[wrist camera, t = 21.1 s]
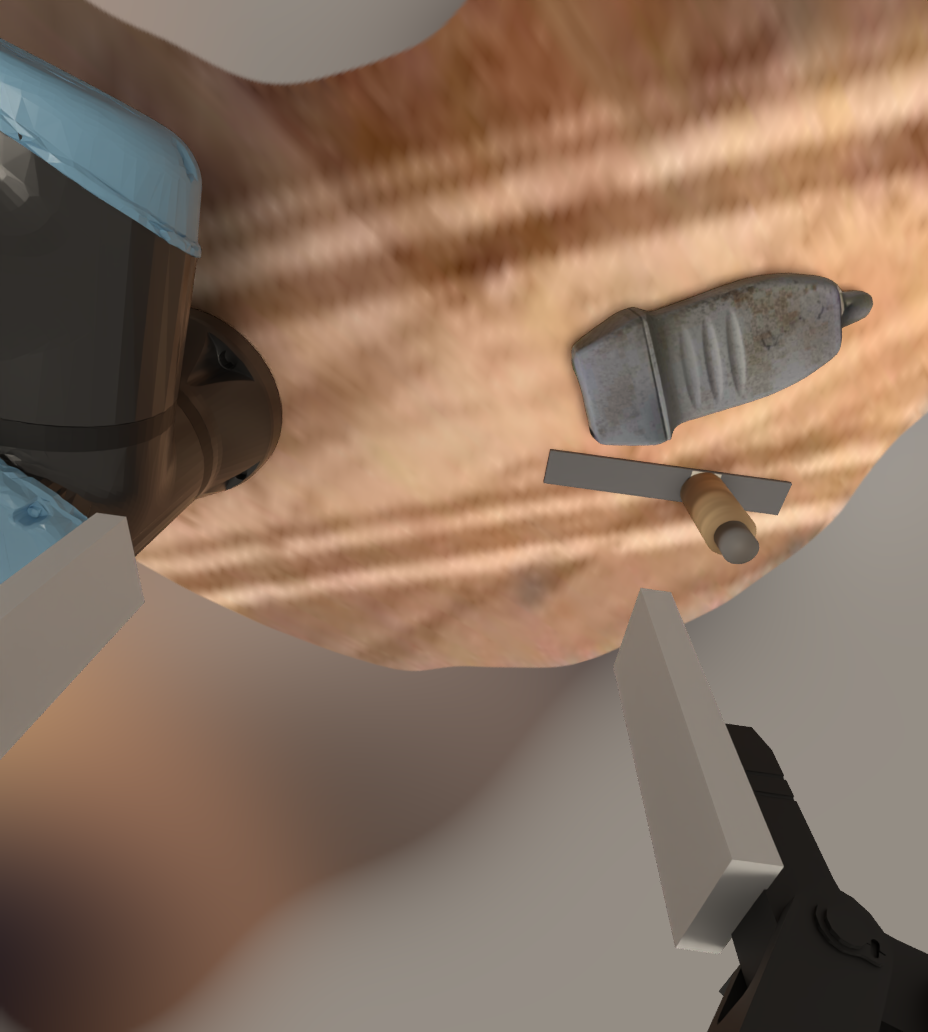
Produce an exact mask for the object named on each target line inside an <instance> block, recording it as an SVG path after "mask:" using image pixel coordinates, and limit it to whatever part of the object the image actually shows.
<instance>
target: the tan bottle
mask: <svg viewBox="0 0 928 1032" xmlns="http://www.w3.org/2000/svg"><path fill="white" fill-rule="evenodd" d="M680 497H681V500H682V502H683V504H684V505H685V507H686V509H687V511H688V512H689V514H690V516H691V518H692V519H693V521H694V523H695V525H696V526H697V528H698V530H699V532H700V533H701V535H702V537H703V538H704V540H705V542H706V544H707V545H708V547H709V548H710V549H711V550H712V551H713V552H715V553H717V554H721V555H723V557H724V558H725V559H726V560H727V561H728V562H730V563H733V564H743V563H746V562H748V561H750V560H752V559H753V558H754V557H755V556H756V555H757V553H758V551H759V543H758V541H757V540H756V538H755V536H756V526H755V523H754V522H753V520H752V519H751V518H750V516H749V515H748V514H747V513H746V511H745V510H744V509H743V507H742V506H741V505H740V503H739V502H738V501H737V499H736V498H735V497H734V495H733V494H732V493H731V492H730V490H729V489H728V488H727V486H726V485H725V484H724V482H723V481H722V480H721V479H720V477H718V476H717V475H715V474H713V473H708V472H703V473H698V474H695V475H693V476H691V477H690V478H689V479H687V480H686V481H685V483H684V484H683V486H682V488H681V491H680Z"/></svg>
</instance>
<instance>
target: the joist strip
mask: <svg viewBox="0 0 928 1032" xmlns="http://www.w3.org/2000/svg"><path fill="white" fill-rule="evenodd" d="M703 472H708V473H713V474H715V475H717V476H718V477H720V479H721V480H722V481H723V482H724V484H725V485H726V486H727V488H728V489H729V490H730V492H731V493H732V494H733V495H734V497H735V498H736V499H737V501H738V502H739V503H740V505H741V506H742V507H743V509H744V510H745V511H751V512H759V513H766V514H773V515H778V513H779V511H780V509H781V507H782V505H783V502H784V500H785V498H786V496H787V494H788V492H789V489H790V487H791V485H792V483H791V482H786V481H779V480H772V479H765V478H757V477H750V476H743V475H735V474H728V473H721V472H713V471H706V470H699V469H691V468H684V467H677V466H670V465H662V464H655V463H648V462H640V461H633V460H626V459H618V458H611V457H604V456H596V455H589V454H582V453H574V452H567V451H560V450H553V449H550V454H549V458H548V463H547V468H546V473H545V478H544V483H547V484H555V485H562V486H569V487H576V488H584V489H591V490H598V491H606V492H613V493H620V494H627V495H635V496H642V497H649V498H657V499H664V500H671V501H678V502H682V500H681V497H680V491H681V488H682V486H683V484H684V483H685V481H686V480H687V479H689V478H690V477H691V476H693V475H695V474H698V473H703Z"/></svg>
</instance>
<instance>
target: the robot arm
mask: <svg viewBox="0 0 928 1032" xmlns="http://www.w3.org/2000/svg"><path fill="white" fill-rule="evenodd" d="M201 193H202V178H201V173H200V169H199V166H198V164H197V161H196V159H195V157H194V155H193V154H192V152H191V151H190V149H189V148H188V147H187V145H186V144H185V143H184V142H183V141H182V140H181V139H180V138H179V137H178V136H177V135H176V134H174V133H173V132H172V131H170V130H169V129H167V128H166V127H164V126H163V125H161V124H159V123H158V122H156V121H155V120H153V119H151V118H149V117H148V116H146V115H144V114H142V113H141V112H139V111H137V110H135V109H134V108H132V107H130V106H128V105H126V104H125V103H123V102H121V101H119V100H117V99H116V98H114V97H112V96H110V95H108V94H106V93H104V92H102V91H101V90H99V89H97V88H95V87H93V86H91V85H89V84H88V83H86V82H84V81H82V80H80V79H78V78H76V77H74V76H72V75H70V74H68V73H67V72H65V71H63V70H61V69H59V68H57V67H55V66H53V65H51V64H49V63H47V62H45V61H44V60H42V59H40V58H38V57H36V56H34V55H32V54H30V53H28V52H26V51H24V50H22V49H20V48H19V47H17V46H15V45H13V44H11V43H9V42H7V41H5V40H3V39H1V38H0V759H1V758H2V757H3V756H4V755H5V754H6V753H7V752H8V751H9V750H10V748H11V747H12V746H13V745H14V744H15V743H16V742H17V741H18V740H19V739H20V737H21V736H22V735H23V734H24V733H25V732H26V731H27V730H28V729H29V728H30V727H31V726H32V724H33V723H34V722H35V721H36V720H37V719H38V718H39V717H40V716H41V715H42V714H43V713H44V711H45V710H46V709H47V708H48V707H49V706H50V705H51V704H52V703H53V702H54V700H55V699H56V698H57V697H58V696H59V695H60V694H61V693H62V692H63V691H64V690H65V689H66V687H67V686H68V685H69V684H70V683H71V682H72V681H73V680H74V679H75V678H76V677H77V675H78V674H79V673H80V672H81V671H82V670H83V669H84V668H85V667H86V666H87V665H88V663H89V662H90V661H91V660H92V659H93V658H94V657H95V656H96V655H97V654H98V652H100V650H101V649H102V648H103V647H104V646H105V645H106V644H107V643H108V641H110V639H111V638H112V637H113V636H114V635H115V634H116V633H117V632H118V631H119V630H120V628H122V626H123V625H124V624H125V623H126V622H127V621H128V619H130V617H132V615H133V614H134V613H135V612H136V611H137V610H138V609H139V608H140V607H141V606H142V605H143V604H144V602H145V601H144V596H143V592H142V588H141V582H140V578H139V574H138V569H137V564H136V559H135V556H136V555H137V554H138V553H140V552H141V551H142V550H143V549H144V548H145V547H146V546H147V545H148V544H149V543H150V542H151V541H152V540H153V539H154V538H155V537H156V536H157V535H158V534H159V533H160V532H162V531H163V530H164V529H165V528H166V527H167V526H168V525H169V524H170V523H171V522H172V521H173V520H174V519H175V518H176V517H177V516H178V515H179V514H180V513H181V512H182V511H184V510H185V509H186V508H187V507H188V506H189V505H190V504H191V503H192V502H193V501H194V500H195V499H198V498H201V497H205V496H208V495H212V494H215V493H219V492H222V491H225V490H228V489H231V488H234V487H236V486H238V485H240V484H241V483H243V482H245V481H246V480H248V479H249V478H250V477H251V476H253V475H254V474H255V473H256V472H257V471H258V470H259V469H260V468H261V467H262V466H263V465H264V463H265V462H266V461H267V460H268V459H269V457H270V456H271V455H272V453H273V451H274V449H275V447H276V445H277V442H278V439H279V436H280V432H281V424H282V411H281V403H280V398H279V394H278V390H277V387H276V385H275V382H274V379H273V377H272V375H271V373H270V371H269V369H268V368H267V366H266V364H265V363H264V361H263V360H262V358H261V357H260V355H259V354H258V353H257V352H256V350H255V349H254V348H253V347H252V346H251V345H250V343H249V342H248V341H247V340H246V339H245V338H244V337H242V336H241V335H240V334H239V333H238V332H237V331H235V330H234V329H233V328H231V327H230V326H229V325H227V324H226V323H224V322H223V321H221V320H219V319H217V318H216V317H214V316H211V315H209V314H207V313H205V312H202V311H199V310H196V309H193V308H190V305H191V298H192V291H193V284H194V277H195V269H196V262H197V258H201V246H200V245H199V243H198V232H199V219H200V206H201ZM613 668H614V672H615V677H616V682H617V686H618V691H619V695H620V700H621V704H622V709H623V713H624V717H625V722H626V727H627V731H628V736H629V740H630V745H631V750H632V754H633V759H634V763H635V768H636V772H637V777H638V781H639V785H640V790H641V795H642V799H643V804H644V808H645V813H646V817H647V822H648V826H649V831H650V835H651V840H652V844H653V849H654V854H655V858H656V863H657V867H658V872H659V876H660V881H661V885H662V890H663V894H664V898H665V903H666V908H667V912H668V917H669V921H670V926H671V930H672V935H673V939H674V944H675V948H680V949H687V950H694V951H701V952H708V953H715V954H720V953H721V952H722V950H723V949H724V947H725V946H726V945H727V943H728V942H729V941H730V939H731V938H732V939H733V942H734V946H735V949H736V952H737V956H738V959H739V962H740V965H739V966H738V968H737V969H736V970H735V971H734V973H733V974H732V975H731V977H730V978H729V979H728V980H727V982H726V983H725V984H724V985H723V987H722V988H721V989H720V990H719V992H720V993H721V994H722V995H723V998H722V1000H721V1003H720V1005H719V1007H718V1009H717V1012H716V1014H715V1016H714V1018H713V1020H712V1022H711V1025H710V1027H709V1029H708V1031H707V1032H928V954H926V953H924V952H922V951H920V950H918V949H916V948H913V947H911V946H909V945H907V944H905V943H903V942H900V941H898V940H896V939H894V938H893V937H891V936H889V935H887V934H885V933H884V932H883V930H882V929H881V928H880V926H879V925H878V924H877V922H876V921H875V920H874V918H873V917H872V915H871V914H870V913H869V912H868V911H867V910H866V909H865V908H864V907H862V906H861V905H860V904H859V903H858V902H857V901H856V900H855V899H854V898H852V897H851V896H849V895H847V894H845V893H844V892H842V891H840V889H839V888H838V886H837V884H836V882H835V881H834V879H833V877H832V875H831V873H830V871H829V869H828V867H827V864H826V862H825V860H824V858H823V856H822V854H821V852H820V850H819V848H818V846H817V843H816V842H815V839H814V837H813V835H812V833H811V831H810V829H809V827H808V825H807V823H806V820H805V818H804V816H803V814H802V812H801V810H800V808H799V806H798V804H797V802H796V801H794V799H793V797H794V795H793V793H792V791H791V789H790V787H789V785H788V783H787V781H786V780H784V778H783V776H784V775H783V773H782V770H781V768H780V766H779V764H778V762H777V760H776V758H775V756H774V754H773V752H772V750H771V749H770V748H769V746H768V745H767V744H766V743H765V742H764V741H763V740H762V738H761V737H760V736H759V735H758V734H757V733H756V732H755V731H754V729H753V728H752V727H746V726H739V725H732V724H725V723H724V720H723V718H722V715H721V713H720V710H719V708H718V706H717V703H716V701H715V698H714V696H713V694H712V691H711V689H710V686H709V684H708V681H707V679H706V676H705V674H704V672H703V669H702V667H701V664H700V662H699V659H698V657H697V655H696V652H695V650H694V647H693V645H692V643H691V640H690V638H689V635H688V633H687V630H686V628H685V626H684V623H683V621H682V618H681V616H680V613H679V611H678V608H677V606H676V604H675V601H674V599H673V596H672V594H671V592H666V591H659V590H651V589H644V588H640V591H639V594H638V597H637V600H636V603H635V606H634V609H633V612H632V615H631V617H630V620H629V623H628V626H627V629H626V632H625V635H624V638H623V641H622V644H621V647H620V649H619V653H618V655H617V658H616V661H615V664H614V667H613Z"/></svg>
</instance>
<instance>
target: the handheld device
mask: <svg viewBox="0 0 928 1032" xmlns="http://www.w3.org/2000/svg"><path fill="white" fill-rule="evenodd" d="M872 306H873V301H872V297H871V296H870V295H869V294H867V293H866V292H863V291H846V292H842V291H841V289H840V288H839V286H838V285H837V284H836V283H835V282H833V281H832V280H830V279H828V278H825V277H821V276H814V275H804V274H791V273H781V274H770V275H761V276H756V277H751V278H747V279H743V280H739V281H736V282H733V283H730V284H727V285H724V286H721V287H719V288H716V289H713V290H710V291H708V292H705V293H702V294H699V295H697V296H694V297H692V298H689V299H686V300H683V301H680V302H677V303H675V304H672V305H669V306H667V307H664V308H661V309H658V310H655V311H649V312H648V311H644V310H641V309H638V308H634V307H631V308H629V309H625V310H622V311H620V312H618V313H616V314H614V315H613V316H611V317H610V318H608V319H607V320H606V321H604V322H603V323H601V324H600V325H598V326H597V327H596V328H594V329H593V330H591V331H590V332H589V333H587V334H586V335H585V336H584V337H582V338H581V339H580V340H578V341H577V342H576V343H575V344H574V345H573V348H572V366H573V369H574V372H575V374H576V376H577V379H578V382H579V384H580V388H581V391H582V395H583V399H584V404H585V410H586V414H587V418H588V423H589V429H590V433H591V435H592V436H593V438H594V439H595V440H596V441H598V442H599V443H601V444H604V445H628V446H637V445H657V444H661V443H663V442H665V441H667V440H670V439H671V437H672V433H673V431H674V429H675V428H676V427H677V426H678V425H679V424H681V423H683V422H686V421H689V420H692V419H696V418H699V417H703V416H706V415H709V414H712V413H716V412H719V411H723V410H726V409H729V408H732V407H736V406H739V405H742V404H745V403H748V402H752V401H755V400H757V399H760V398H763V397H766V396H769V395H771V394H774V393H776V392H778V391H780V390H782V389H785V388H787V387H789V386H791V385H793V384H795V383H797V382H799V381H800V380H802V379H804V378H805V377H807V376H809V375H810V374H812V373H813V372H815V371H816V370H817V369H819V368H820V367H822V366H823V365H824V364H826V363H827V362H828V361H830V360H831V359H832V358H833V357H834V356H835V355H836V354H837V353H838V351H839V349H840V346H841V341H842V328H843V327H845V326H847V325H850V324H852V323H854V322H857V321H859V320H861V319H863V318H865V317H866V316H867V315H868V314H869V312H870V310H871V308H872Z"/></svg>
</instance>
